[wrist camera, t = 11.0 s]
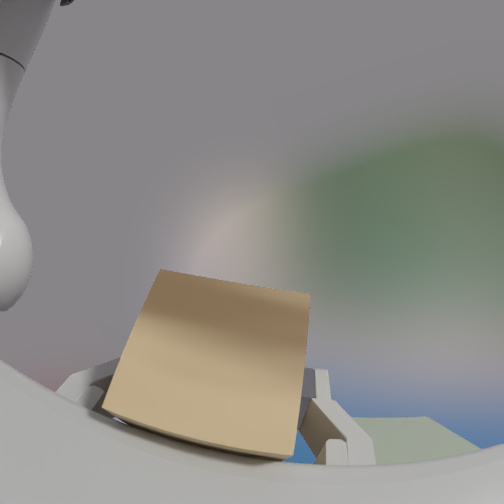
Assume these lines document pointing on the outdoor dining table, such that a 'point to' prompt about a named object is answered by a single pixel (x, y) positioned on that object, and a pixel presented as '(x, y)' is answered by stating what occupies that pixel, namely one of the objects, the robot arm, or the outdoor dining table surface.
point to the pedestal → (412, 439)
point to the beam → (215, 366)
